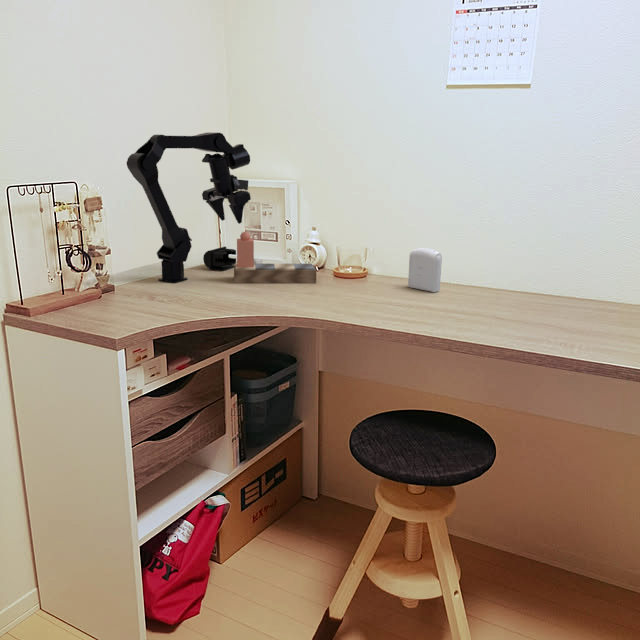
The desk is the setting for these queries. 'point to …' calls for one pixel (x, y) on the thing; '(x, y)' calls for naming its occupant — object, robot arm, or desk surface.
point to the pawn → (245, 251)
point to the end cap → (219, 259)
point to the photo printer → (425, 269)
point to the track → (275, 273)
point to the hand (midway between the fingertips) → (231, 221)
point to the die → (258, 261)
